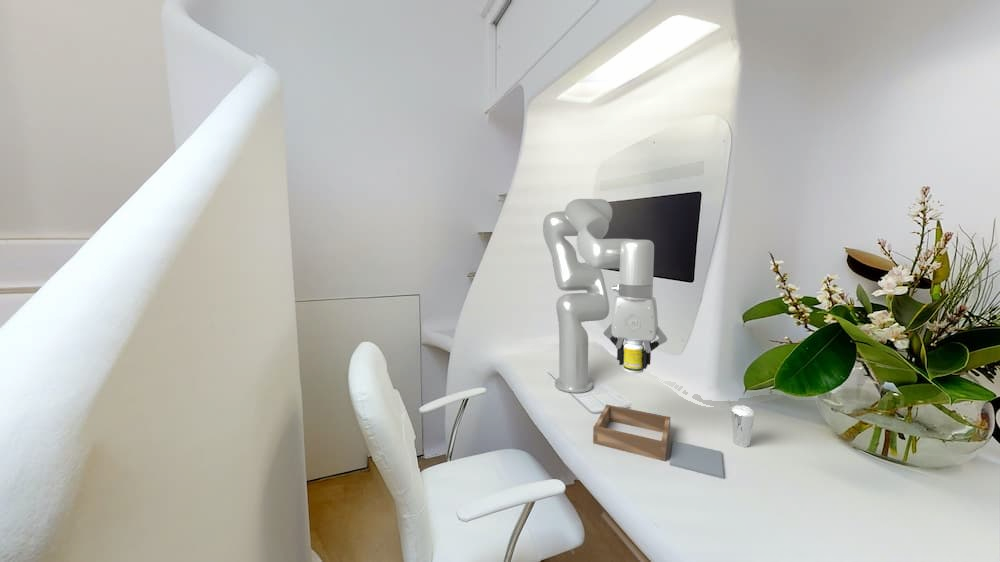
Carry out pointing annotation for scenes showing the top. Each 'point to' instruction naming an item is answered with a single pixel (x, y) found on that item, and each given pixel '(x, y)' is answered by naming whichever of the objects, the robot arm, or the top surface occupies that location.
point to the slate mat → (697, 459)
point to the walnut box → (631, 441)
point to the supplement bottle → (633, 356)
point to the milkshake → (742, 424)
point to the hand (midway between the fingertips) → (633, 364)
